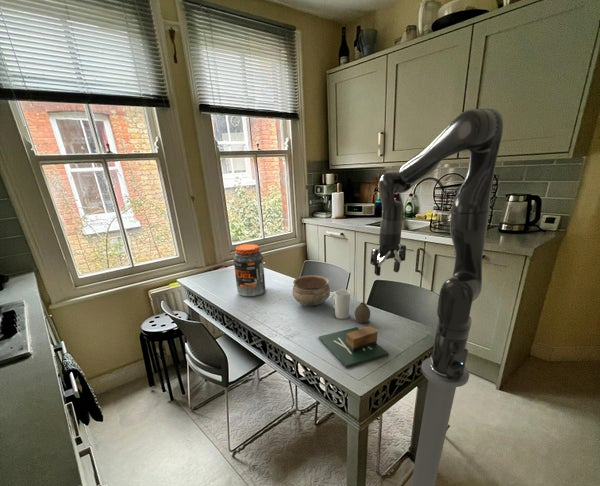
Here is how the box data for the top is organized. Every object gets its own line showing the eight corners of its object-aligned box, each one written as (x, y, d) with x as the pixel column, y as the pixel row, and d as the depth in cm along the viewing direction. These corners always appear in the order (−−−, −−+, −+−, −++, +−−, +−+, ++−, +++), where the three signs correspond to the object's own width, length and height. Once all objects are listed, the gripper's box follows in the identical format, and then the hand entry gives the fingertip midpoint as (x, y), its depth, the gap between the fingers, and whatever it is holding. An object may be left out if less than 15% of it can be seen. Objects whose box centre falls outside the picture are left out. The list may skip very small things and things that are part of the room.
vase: (353, 323, 140) (353, 305, 136) (355, 316, 146) (356, 299, 142) (368, 325, 138) (370, 307, 134) (370, 318, 144) (372, 301, 140)
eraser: (353, 351, 118) (353, 339, 116) (345, 345, 122) (346, 333, 120) (376, 344, 122) (377, 331, 120) (368, 338, 126) (369, 326, 124)
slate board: (388, 355, 117) (388, 352, 117) (346, 367, 111) (346, 365, 111) (356, 329, 136) (356, 326, 135) (318, 338, 130) (318, 336, 129)
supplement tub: (232, 295, 173) (226, 249, 163) (245, 285, 187) (240, 242, 176) (258, 298, 169) (254, 251, 158) (270, 288, 182) (266, 243, 171)
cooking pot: (281, 301, 164) (280, 279, 159) (309, 292, 175) (308, 271, 170) (313, 318, 146) (313, 293, 141) (342, 306, 157) (342, 283, 152)
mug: (352, 316, 147) (353, 292, 142) (342, 320, 143) (343, 296, 138) (336, 309, 154) (336, 286, 149) (326, 313, 150) (326, 290, 145)
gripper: (380, 235, 109) (377, 279, 116) (413, 231, 114) (408, 273, 121) (368, 231, 115) (365, 273, 122) (399, 227, 120) (395, 267, 127)
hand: (386, 273), depth 122 cm, fingers open, 8 cm apart
